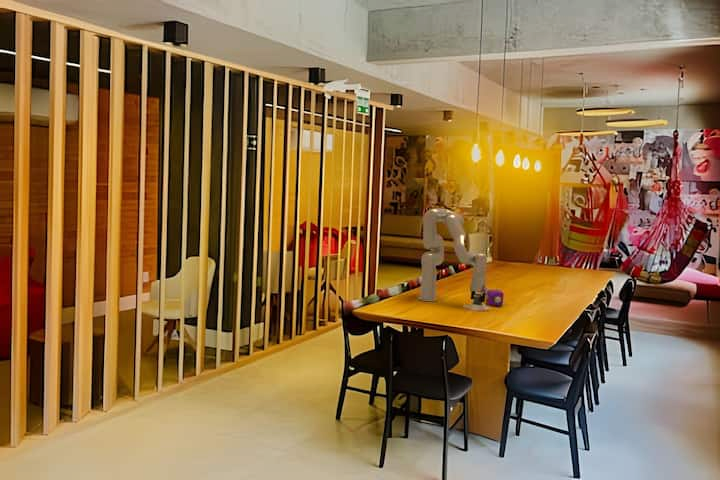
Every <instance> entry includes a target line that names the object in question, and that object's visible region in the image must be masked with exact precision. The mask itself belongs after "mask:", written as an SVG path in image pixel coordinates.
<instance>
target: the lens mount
mask: <svg viewBox="0 0 720 480" xmlns="http://www.w3.org/2000/svg"><path fill="white" fill-rule="evenodd" d="M463 308H464V309H465V308H466V309H468V310H471V311H474V312H483V311H491V310H492V308H490V307H487V306H486V304H485V303H484V302H482V304H481V305H475V304H473V302H469V305H467V304H465V305H463Z"/></svg>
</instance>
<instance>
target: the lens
mask: <svg viewBox="0 0 720 480" xmlns="http://www.w3.org/2000/svg"><path fill="white" fill-rule="evenodd" d="M480 296H481V293H476V294H474V299H473V304H475V305H481V304H482V303H483V302H480Z"/></svg>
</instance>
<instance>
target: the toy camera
mask: <svg viewBox="0 0 720 480" xmlns="http://www.w3.org/2000/svg"><path fill="white" fill-rule="evenodd" d="M485 303H486V304H487V306H490V307H491V306H493V307H502V306H503V305H504V292H503V291H502V290H500V289H499V288H496V289H488V292H487V294H486V296H485Z"/></svg>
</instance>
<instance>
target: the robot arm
mask: <svg viewBox="0 0 720 480" xmlns="http://www.w3.org/2000/svg"><path fill="white" fill-rule="evenodd" d="M422 218H423V220H422V222H423V223H422V225H423V226H422V227H423V235H422V236H423V237H422V238H423V239H422V240H423V247H424V248H425V249H426V250H430V251H427V252H424V253H423V254H422V256H421V284H420V291H419V293H418V295H419V296H418V297H417V300H419V301H422V302H437V301H438V298H437V297H436V289H437V288H436V287H437V274H438V273H437V267H436V266H440V265H441V264H442V263H443V262H444V260H445V241H444V239H443V237H442V236H441V235H439V234H437V232H438V231H437V229H438V228H437V225H436V223H438V222H441V223H442V222H443V223H445V225H446V227H447V230H448V231H449V233H450V235H451V238H452V239H453V248H454V253H455V255H456V257H457V259H458V261H459V262H460V263H461V264H463V265H471V264H473V274H472V277H471V281H470V285H469V290H470V300H474V294H477V293H479V294H481V296H480V302H482V303H486V294H487V292H488V290H489V289H488V288H487V278H486V277H487V262H488V255H487V254H486V253H480V252H475V251H468V250H467V248H466V246H465V240H466V238H467V237H466V236H467V233H466V232H465V229H464V223H465V220H464V217H463V216H462V215H461V214H460V213H457V212H454V211H452V210H450V209H447V208H438V207H437V208H431V209H429V210H428V211H426V212H425V213H424V216H423V217H422Z"/></svg>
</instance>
